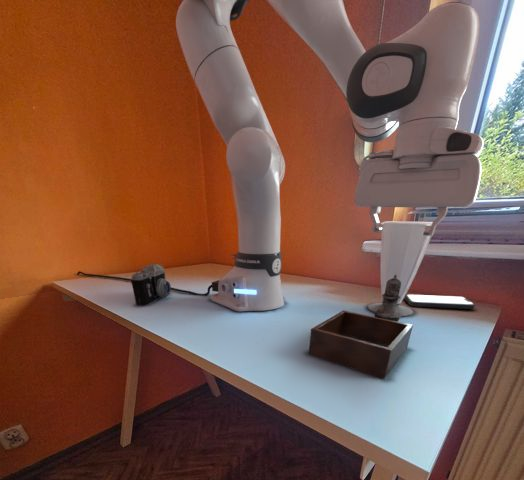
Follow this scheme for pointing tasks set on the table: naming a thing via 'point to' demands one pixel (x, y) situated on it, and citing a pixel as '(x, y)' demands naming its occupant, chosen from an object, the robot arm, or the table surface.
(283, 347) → the table surface
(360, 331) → the crate
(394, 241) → the cup
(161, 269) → the camera
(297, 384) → the table surface
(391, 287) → the salt shaker
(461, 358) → the table surface
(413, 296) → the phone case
